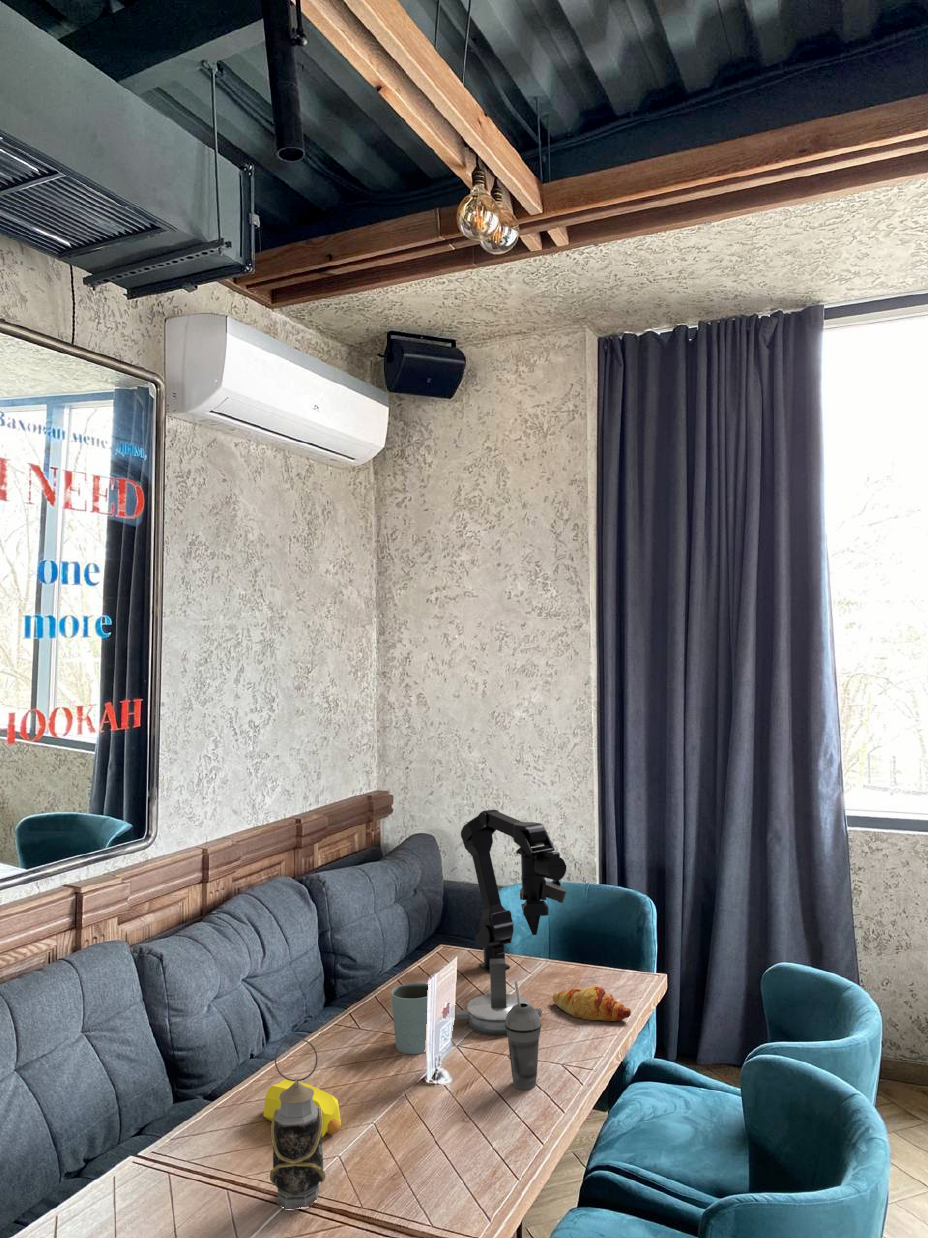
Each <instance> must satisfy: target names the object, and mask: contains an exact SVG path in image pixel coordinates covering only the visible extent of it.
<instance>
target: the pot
mask: <svg viewBox="0 0 928 1238" xmlns="http://www.w3.org/2000/svg"><path fill="white" fill-rule="evenodd" d="M534 1009H535V1010H536V1011H537V1013H538V1015H539V1017H540V1018H542V1017H543V1013H542V1008H534ZM455 1014H456V1016H455V1017H456V1019H457V1020H467V1019H468V1026H469V1028H470V1029H471V1030H472V1031H473V1032H476V1033H477V1034H481V1035H485V1036H486V1035H487V1036H492V1037H493V1036H494V1037H499V1036H500V1037H501V1036H507V1033H506V1028H505V1023H506V1021H490V1020H483V1019H479V1018H476V1017H474V1016H472V1015H470V1014H469V1013H468V1011H467V1009H466V1010H465V1009H464V1010H461V1009H460V1010H459V1009H458V1010H456V1013H455Z"/></svg>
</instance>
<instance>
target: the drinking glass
mask: <svg viewBox="0 0 928 1238" xmlns="http://www.w3.org/2000/svg"><path fill="white" fill-rule="evenodd" d="M428 984H429V983H425V982H424V983H423V982H413V983H412V982H410V983H404V984H401V985H398V986H397V985H396V987H394V988H392V990H391V991H390V996H391V1007H392V1019H393V1023H394V1025H393V1027H394V1036H395V1037H394V1038H395V1046H396V1051H397V1050H398V1052H400V1053H402V1054H406V1055H421V1054H425V1053H424V1050H425V1040H426V1024H427V990H428Z"/></svg>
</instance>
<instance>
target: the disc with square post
mask: <svg viewBox="0 0 928 1238" xmlns="http://www.w3.org/2000/svg"><path fill="white" fill-rule="evenodd" d="M505 964H506V958H505V959H490V972H489V975H490V976H489V979H490V981H489V983H490V993H489V994H487V993H486V994H483V995H479V996H477V997H473V998H471V999H470V1000H469V1001H468V1003H467V1004H466V1005H467V1006H466V1007H467V1008H466V1010H467V1011H468V1013H469V1014H470V1015H472V1016H474V1017H476V1018H479V1019H483V1020H490V1021H506V1016H507V1014H508V1012H509V1010H510V1009H511V1008H512V1007H513V1006H515V1005H516V1004H518V1002H517V995H516V994H511V993H507V977H506V976H507V975H506V970H507V969H505ZM519 998H520V1003H526V1004H529V1005H531V1003H530V1001H529V1000H528V999H527V998H524V997H523V996H520V995H519Z"/></svg>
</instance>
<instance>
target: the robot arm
mask: <svg viewBox="0 0 928 1238" xmlns="http://www.w3.org/2000/svg"><path fill="white" fill-rule="evenodd" d="M460 830H461V831H460V837H461V840H462V843H463V846H464V849H465V850H466V851H467V853H469V854H470V855H471V856H470V857H472V861H473V866H474V870H475V874H476V878H477V885H478V888H479V892H480V897H481V902H482V906H483V912H482V915H481V919H480V927H481V929H480V930H479V931H478V933H477V934H476V936H474V940H475V944H476V946H478V947H480V948H482V949H483V962H481V963H479V964H478V966H479V967H480V968H482V969H484V971H487V972H488V973H490V959H505V960H506V952H505V945H507V944H512V939H513V934H514V930H515V928H514V926H515V923H514V922H513V918H512V912H511V911H510V909H506V908H505V907H504V906H503V905H502V901H501V896H500V893H499V888H498V883H497V878H496V874H495V869H494V866H493V860H492V857H491V851H492V847H493V843H494V840H493V835H494V833H495V832H497V831H498V832H500V833H503V834H505V835H507V836H508V837H511V838H512V839H513V842H514V843H515V844H516V845H517V846H519V848H517V850H515V852H516V854H517V855H520V861H521V862H520V863H521V867H520V868H521V876H520V879H521V888H520V889H519V899H520V901H524V903H522V904H521V909H522V914H523V916H524V918H525V921H526V922H527V925H528V928H529V930H530V933H531V935H532V936H537V934H538V929H539V925H540V920H541V919H540V918H541V917H543V916H546V917H547V916H549V905H548V903H547V902H546V901H547V898H548V899H550V900H553V901H556V902H558V903H560V904H564V901H565V900H566V899H565V898H566V895H567V892H568V891H567V889H566V887H564V886H563V885H561V880H562V879H563V878H564V877H565V875H566V873H567V864H566V862H565V859H564V858H562V857H560V852H558V851H555V847H554V843H553V841H552V839H551V838H550V835H549V834H548V832H547V829H546V827H545V826H544V824H543V823H541V822H535V821H534V822H533V821H521V820H518V819H516V818H514V817H512V816H509V815H507V814H504V813H503V812H500V811H499V810H498V809H487V810H482V811H480V813H479V814H478V815H477V816H476V817H474V818H472V819H471V820H469V821H468V822H467V823H465V824H464V825H463V826H462V829H460ZM546 879H549V880H552V881H547V880H546ZM510 968H511V966H510V965H509V964H507V963H505V969H506V970H507V969H510Z"/></svg>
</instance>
